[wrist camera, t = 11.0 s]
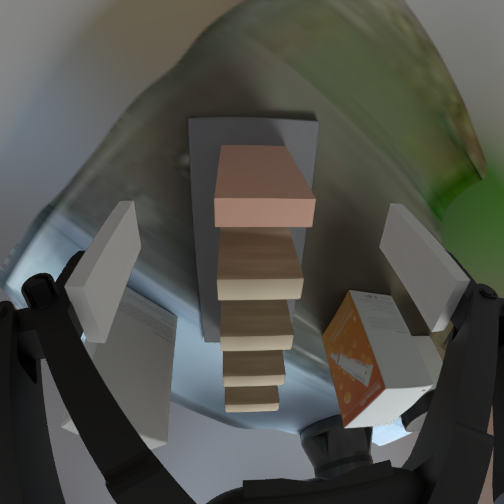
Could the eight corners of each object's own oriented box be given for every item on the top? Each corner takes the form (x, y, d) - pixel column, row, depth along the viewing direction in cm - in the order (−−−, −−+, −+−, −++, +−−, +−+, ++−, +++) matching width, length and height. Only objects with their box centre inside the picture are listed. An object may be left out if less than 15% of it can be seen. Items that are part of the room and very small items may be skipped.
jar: (369, 369, 43) (391, 436, 33) (395, 334, 39) (426, 407, 29) (413, 366, 45) (437, 426, 35) (439, 334, 40) (471, 397, 30)
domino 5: (268, 335, 36) (277, 410, 28) (225, 335, 35) (225, 412, 27) (269, 325, 35) (279, 403, 27) (225, 326, 35) (225, 404, 26)
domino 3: (275, 266, 30) (290, 349, 22) (223, 266, 30) (221, 351, 22) (276, 252, 29) (293, 334, 21) (222, 252, 29) (220, 336, 21)
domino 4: (271, 304, 33) (283, 384, 25) (224, 304, 33) (223, 386, 24) (273, 292, 32) (285, 374, 24) (223, 293, 32) (222, 376, 24)
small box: (347, 288, 33) (386, 388, 23) (392, 294, 34) (436, 384, 24) (319, 336, 38) (342, 430, 27) (362, 339, 39) (391, 425, 28)
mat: (288, 337, 37) (288, 340, 37) (204, 338, 37) (204, 342, 36) (317, 120, 23) (319, 121, 23) (189, 117, 22) (188, 118, 22)
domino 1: (284, 165, 25) (311, 227, 16) (221, 164, 24) (215, 227, 16) (285, 146, 24) (315, 199, 15) (221, 145, 23) (214, 198, 15)
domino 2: (279, 220, 27) (300, 298, 19) (222, 219, 27) (217, 300, 19) (281, 203, 26) (303, 278, 18) (221, 203, 26) (216, 279, 18)
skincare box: (95, 308, 33) (55, 425, 20) (120, 276, 31) (75, 408, 18) (152, 342, 37) (133, 458, 24) (183, 316, 34) (169, 447, 21)
